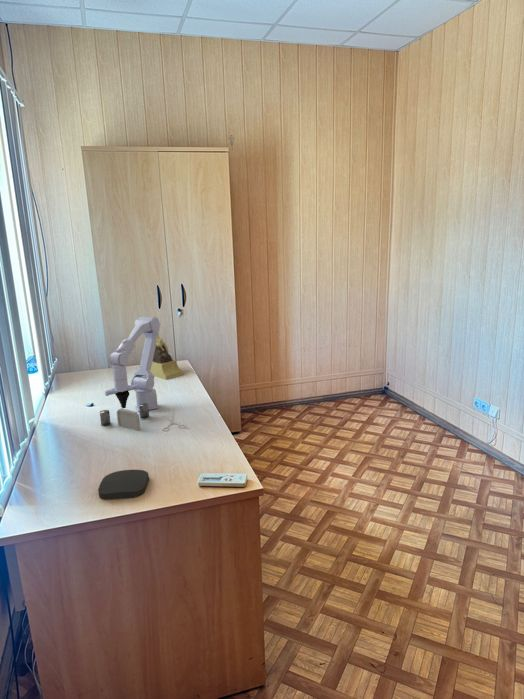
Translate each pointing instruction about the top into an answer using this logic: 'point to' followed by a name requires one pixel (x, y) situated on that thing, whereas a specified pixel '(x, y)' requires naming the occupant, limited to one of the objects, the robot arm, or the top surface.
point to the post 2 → (144, 411)
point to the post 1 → (105, 417)
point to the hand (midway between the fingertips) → (123, 407)
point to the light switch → (128, 419)
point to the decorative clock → (164, 362)
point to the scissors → (173, 423)
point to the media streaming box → (123, 484)
